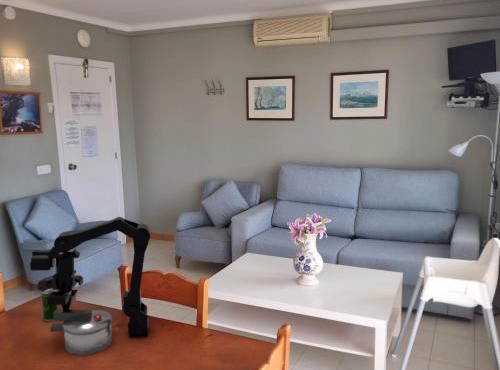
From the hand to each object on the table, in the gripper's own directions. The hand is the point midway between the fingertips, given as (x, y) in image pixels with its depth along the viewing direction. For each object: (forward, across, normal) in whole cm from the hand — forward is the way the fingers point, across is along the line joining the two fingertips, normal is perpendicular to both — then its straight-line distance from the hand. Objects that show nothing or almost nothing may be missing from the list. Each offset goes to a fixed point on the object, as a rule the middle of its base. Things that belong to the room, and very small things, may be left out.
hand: (66, 312), depth 151 cm
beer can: (+11, -16, -12) cm, 23 cm away
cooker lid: (+2, +3, +7) cm, 8 cm away
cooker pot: (+9, +3, +6) cm, 12 cm away
